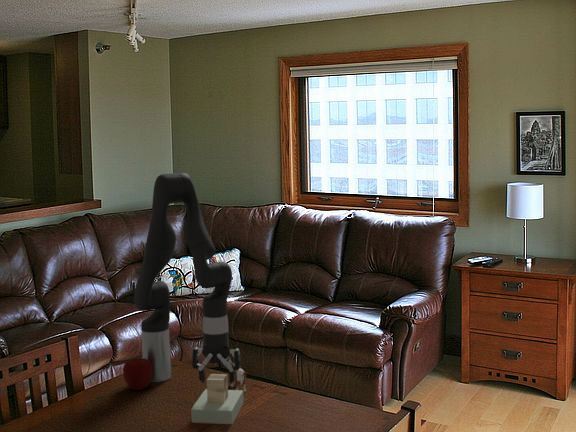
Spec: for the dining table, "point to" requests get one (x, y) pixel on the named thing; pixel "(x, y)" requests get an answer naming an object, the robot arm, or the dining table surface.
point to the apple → (138, 373)
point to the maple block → (217, 388)
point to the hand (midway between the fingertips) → (217, 382)
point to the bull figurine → (240, 378)
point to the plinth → (217, 409)
